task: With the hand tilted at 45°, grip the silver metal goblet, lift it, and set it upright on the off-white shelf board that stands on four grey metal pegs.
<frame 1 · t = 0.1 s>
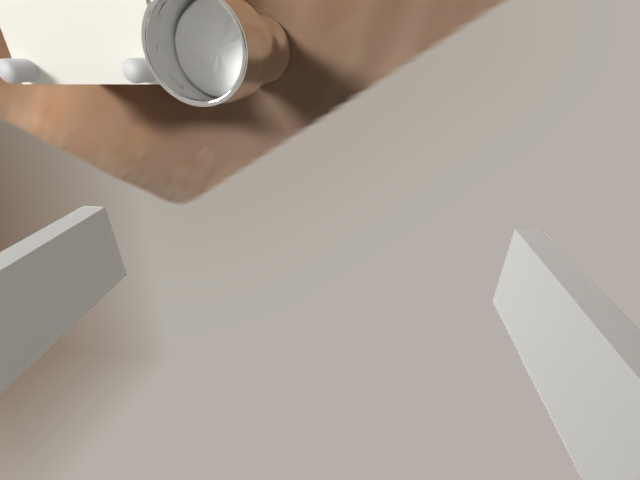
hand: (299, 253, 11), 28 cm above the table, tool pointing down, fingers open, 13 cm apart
silver metal goblet: (260, 50, 34), on the table
shelf stand: (122, 3, 33), on the table
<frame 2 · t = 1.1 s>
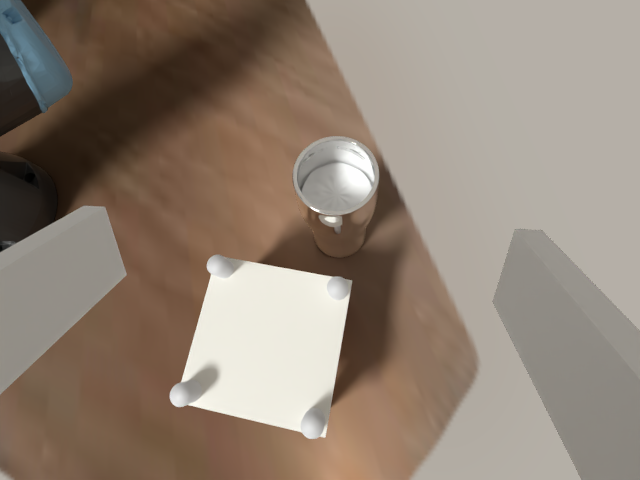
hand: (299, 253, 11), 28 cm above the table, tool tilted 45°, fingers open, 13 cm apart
silver metal goblet: (339, 232, 41), on the table
shelf stand: (281, 339, 38), on the table
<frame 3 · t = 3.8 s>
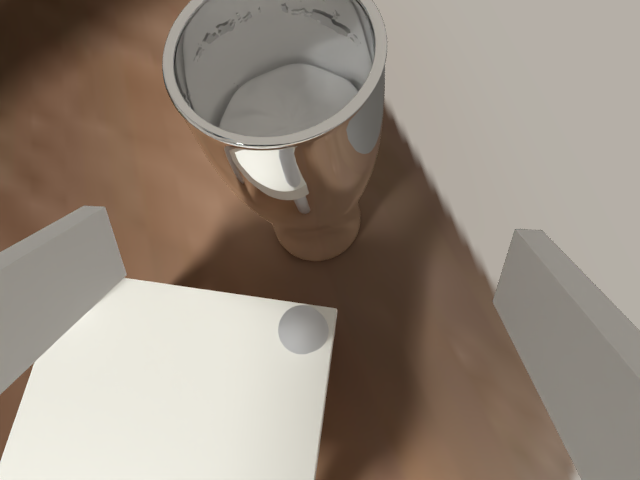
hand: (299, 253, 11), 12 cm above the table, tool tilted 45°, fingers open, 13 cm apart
silver metal goblet: (317, 220, 25), on the table
shelf stand: (221, 410, 21), on the table
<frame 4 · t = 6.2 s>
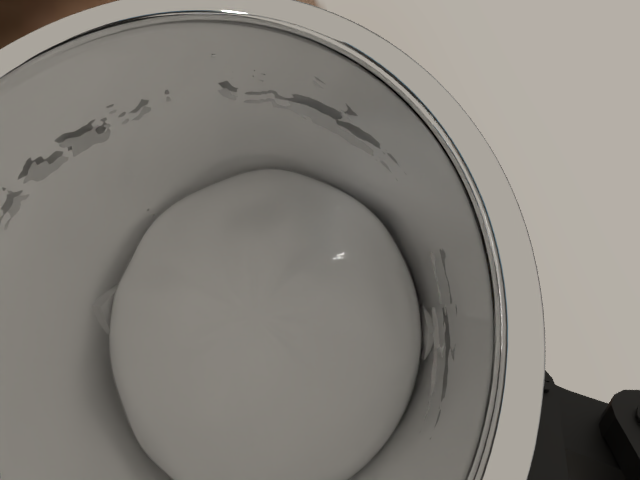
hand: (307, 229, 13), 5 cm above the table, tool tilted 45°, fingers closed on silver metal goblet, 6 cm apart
silver metal goblet: (313, 332, 17), on the table, touching gripper
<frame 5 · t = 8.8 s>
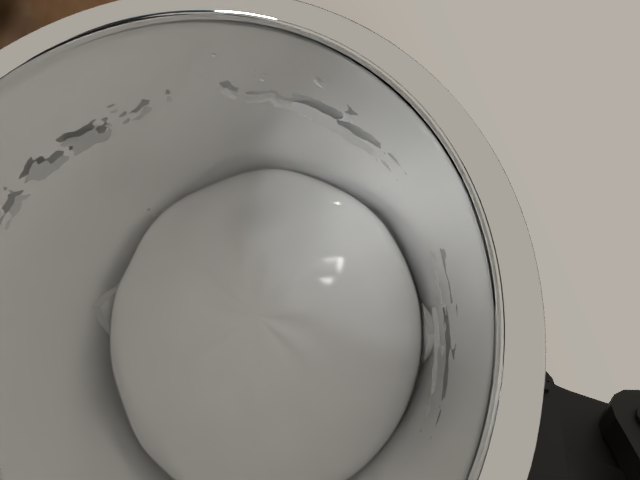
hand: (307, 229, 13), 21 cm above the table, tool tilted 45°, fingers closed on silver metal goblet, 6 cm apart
silver metal goblet: (313, 331, 17), point 16 cm above the table, touching gripper
when the fingers open (14 cm above the table, at t = 11.7 s): silver metal goblet drops 1 cm, resting on shelf stand.
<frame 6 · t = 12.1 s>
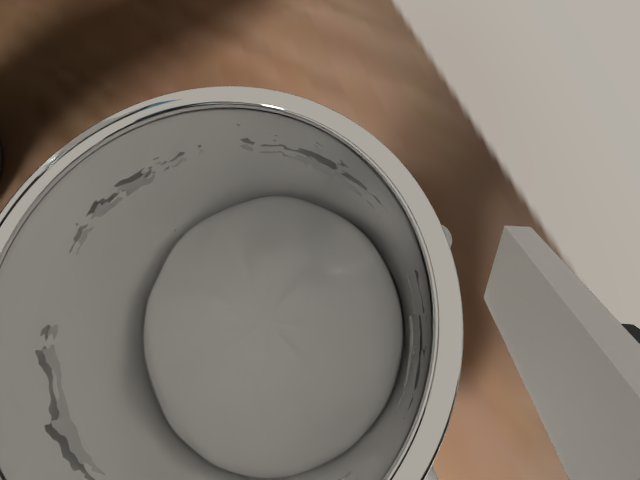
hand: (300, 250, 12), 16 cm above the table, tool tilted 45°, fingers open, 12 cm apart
silver metal goblet: (312, 332, 19), point 7 cm above the table, touching shelf stand
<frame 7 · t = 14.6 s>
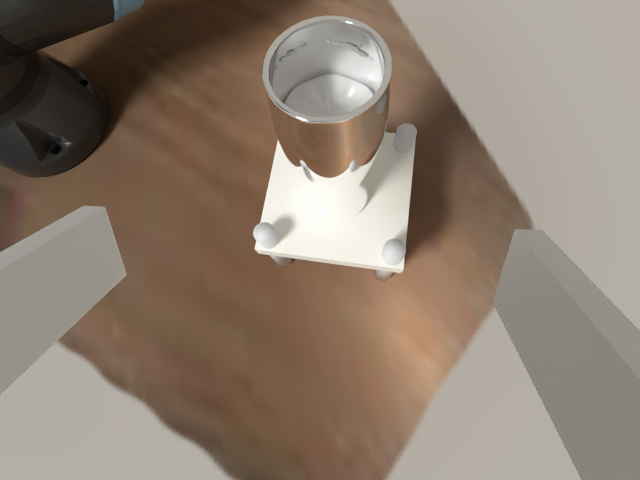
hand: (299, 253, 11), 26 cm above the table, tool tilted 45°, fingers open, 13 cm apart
silver metal goblet: (336, 191, 32), point 7 cm above the table, touching shelf stand
shelf stand: (339, 218, 39), on the table
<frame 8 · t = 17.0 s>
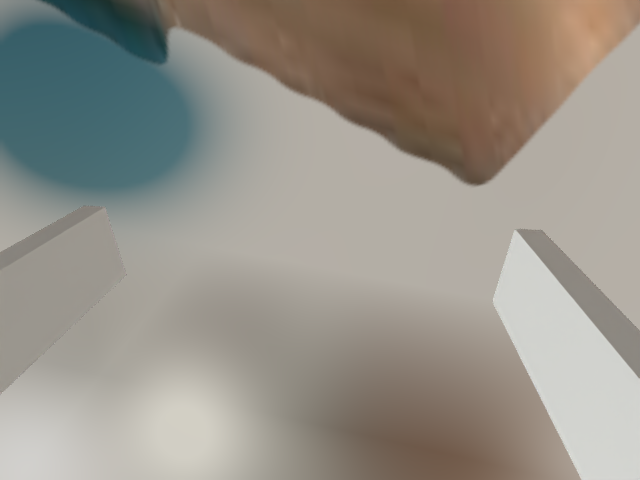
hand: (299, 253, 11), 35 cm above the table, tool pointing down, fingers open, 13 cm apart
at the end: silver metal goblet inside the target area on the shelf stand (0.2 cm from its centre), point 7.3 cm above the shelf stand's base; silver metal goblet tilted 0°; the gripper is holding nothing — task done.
